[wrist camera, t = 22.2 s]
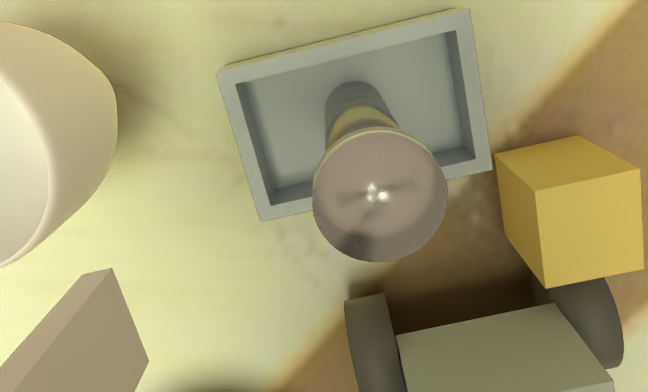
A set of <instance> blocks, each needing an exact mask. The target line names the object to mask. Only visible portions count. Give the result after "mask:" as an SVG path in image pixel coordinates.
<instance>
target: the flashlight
mask: <svg viewBox="0 0 648 392" xmlns="http://www.w3.org/2000/svg"><path fill="white" fill-rule="evenodd" d="M447 203H448V190H447V184H446V180H445V177H444V174H443V172H442V169H441V168H440V166H439V164H438V163H437V161H436V160H435V158H434V157H433V155H432V154H431V153H430V151H429V150H428V149H427V147H426V146H425V145H424V144H423V143H422V142H420V141H419V140H418V139H416V138H415V137H414V136H412V135H410V134H408V133H406V132H404V131H401V129H400V127H399V125H398V124H397V122H396V120H395V119H394V117H393V115H392V114H391V112H390V110H389V109H388V107H387V105H386V103H385V102H384V100H383V98H382V97H381V95H380V93H379V92H378V91H377V90H376V89H375V88H374V87H373V86H371V85H370V84H368V83H365V82H362V81H349V82H345V83H343V84H341V85H339V86H337V87H336V88H335V89H334V90H333V91H332V92H331V93H330V95H329V97H328V98H327V101H326V104H325V154H324V155H323V157H322V158H321V160H320V162H319V164H318V166H317V169H316V171H315V175H314V179H313V191H312V208H313V213H314V217H315V220H316V223H317V225H318V227H319V229H320V231H321V233H322V234H323V235H324V237H325V238H326V239H327V240H328V242H329V243H330V244H331V245H333V246H334V247H335V248H336V249H338V250H339V251H341V252H342V253H344V254H346V255H348V256H350V257H352V258H355V259H358V260H363V261H367V262H387V261H393V260H397V259H401V258H403V257H406V256H408V255H410V254H412V253H414V252H416V251H417V250H419V249H420V248H421V247H423V246H424V245H425V244H426V243H427V242H428V241H429V240H430V239H431V238H432V237H433V236H434V235H435V233H436V232H437V230H438V229H439V227H440V225H441V223H442V221H443V219H444V216H445V213H446V209H447Z"/></svg>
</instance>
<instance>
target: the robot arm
mask: <svg viewBox="0 0 648 392" xmlns="http://www.w3.org/2000/svg"><path fill="white" fill-rule="evenodd" d="M148 362H149V360H148V357H147V355H146V352H145V350H144V347H143V345H142V342H141V340H140V337H139V335H138V332H137V330H136V327H135V324H134V322H133V319H132V317H131V314H130V312H129V309H128V307H127V304H126V302H125V299H124V297H123V294H122V292H121V289H120V287H119V284H118V282H117V279H116V277H115V274H114V272H113V269H112V268H109V269H105V270H100V271H96V272H92V273H87V274H83V275H82V276H81V277H80V278H79V279H78V280H77V281H76V283H75V284H74V285H73V286H72V287H71V288H70V289H69V290H68V292H67V293H66V294H65V295H64V296H63V297H62V298H61V299H60V301H59V302H58V303H57V304H56V305H55V306H54V307H53V308H52V309H51V311H50V312H49V313H48V314H47V315H46V316H45V317H44V318H43V320H42V321H41V322H40V323H39V324H38V325H37V326H36V327H35V329H34V330H33V331H32V332H31V333H30V334H29V335H28V336H27V338H26V339H25V340H24V341H23V342H22V343H21V344H20V345H19V347H18V348H17V349H16V350H15V351H14V352H13V353H12V354H11V355H10V357H9V358H8V359H7V360H6V361H5V362H4V363H3V364H2V366H1V367H0V392H134V391H135V389H136V387H137V385H138V383H139V381H140V379H141V377H142V375H143V373H144V371H145V368H146V366H147V364H148Z"/></svg>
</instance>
